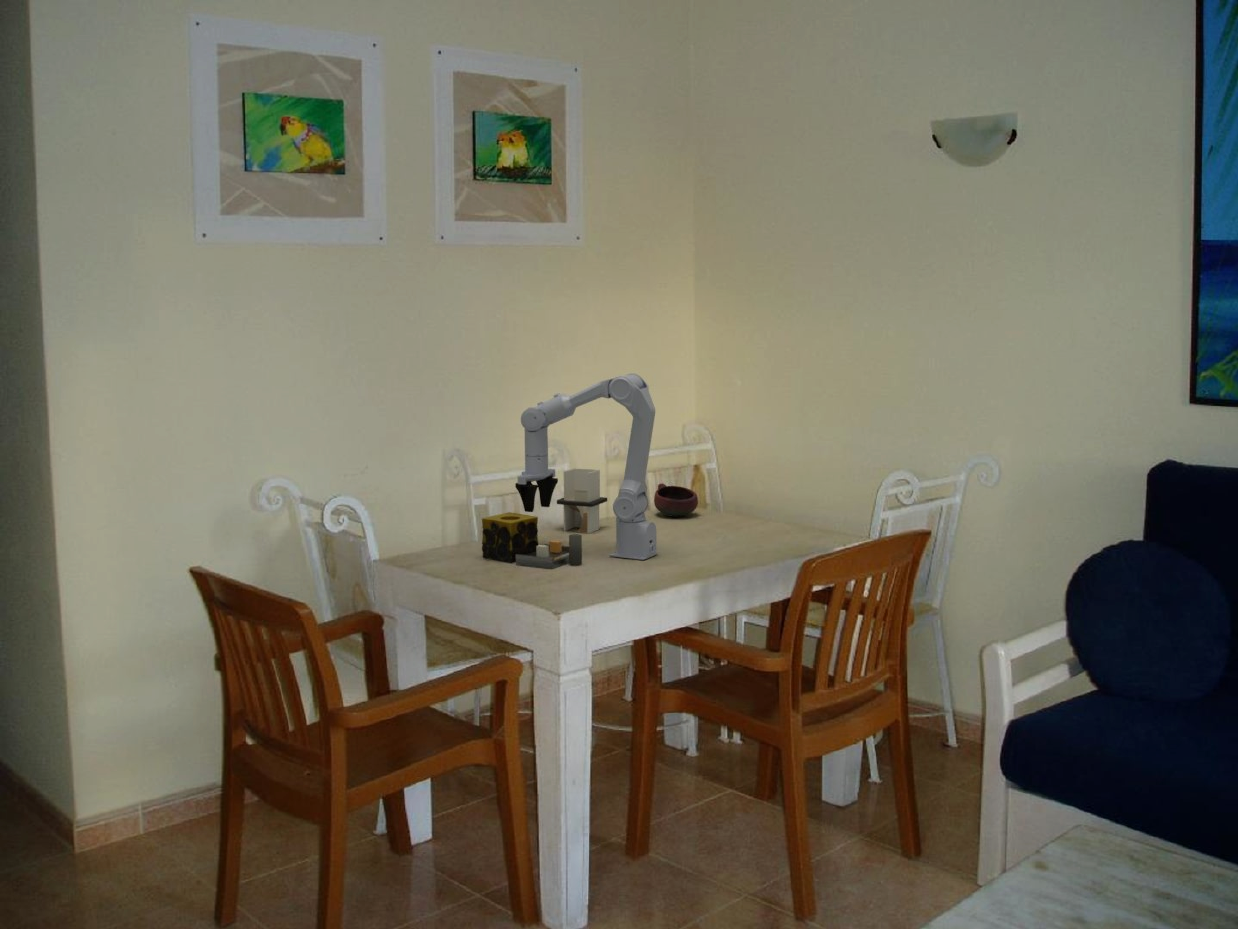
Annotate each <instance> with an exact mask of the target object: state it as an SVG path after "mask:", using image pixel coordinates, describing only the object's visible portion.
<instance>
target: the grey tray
mask: <svg viewBox="0 0 1238 929" xmlns="http://www.w3.org/2000/svg"><path fill="white" fill-rule="evenodd" d="M544 545H546V546H549V556H548V557H540V556H537V553H536V552H533V553H530V554H528V555H523V554H516V562H515V565H516V566H521V567H523V566H524V567H531V568H539V569H546V570H547V569H548V570H554V569H556V568H559V567H562V566H564V565H566V564H569V545H562V552H559V553H556V552H550V543H544Z"/></svg>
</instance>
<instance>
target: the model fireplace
mask: <svg viewBox="0 0 1238 929" xmlns="http://www.w3.org/2000/svg"><path fill="white" fill-rule="evenodd" d="M600 486H601V471H600V469H594V468H593V469H590V468H589V469H588V468H576V467H575V468H570V469H567V470H564V471H563V497H561V498H559V499H556V505H560V506H561V505H563V531H564V532H566V531H568V530H572V529H573V528H579V529H578V531H577V534H579V533H580V534H581V533H582V534H590V533H593V532H595V531H597V530H599V529H600V505H601V504H604V503H607V502H608V497H606V496H605V497H603V496H601V487H600Z"/></svg>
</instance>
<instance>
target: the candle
mask: <svg viewBox="0 0 1238 929" xmlns="http://www.w3.org/2000/svg"><path fill="white" fill-rule="evenodd" d="M538 521H539V517H538V516H536V515H528V514H523V513H516V512H510V511H508V512H505V513H500V514H495V515H490V516H486V517H482V518H481V523H482V525H481V526H482V541H481V542H482V543H481V544H482V546H481V551H482V557H483V558H484V559H488V560H492V561H498V562H504V563H505V562H506V563H509V564H510V563H516V554H523V555H528V554H530V553H533V552H536V546H538V545H539V539H538V538H539V534H538V533H539V529H538V523H539V522H538Z"/></svg>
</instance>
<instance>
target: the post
mask: <svg viewBox="0 0 1238 929" xmlns="http://www.w3.org/2000/svg"><path fill="white" fill-rule="evenodd" d="M582 537H583V536H582V534H581V533H580V534H579V533H572V534H569V535H568V546H569V563H568V565H569V566H571V567H572V566H573V567H577V566H582V565H583V551H582V550H583V539H582Z"/></svg>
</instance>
